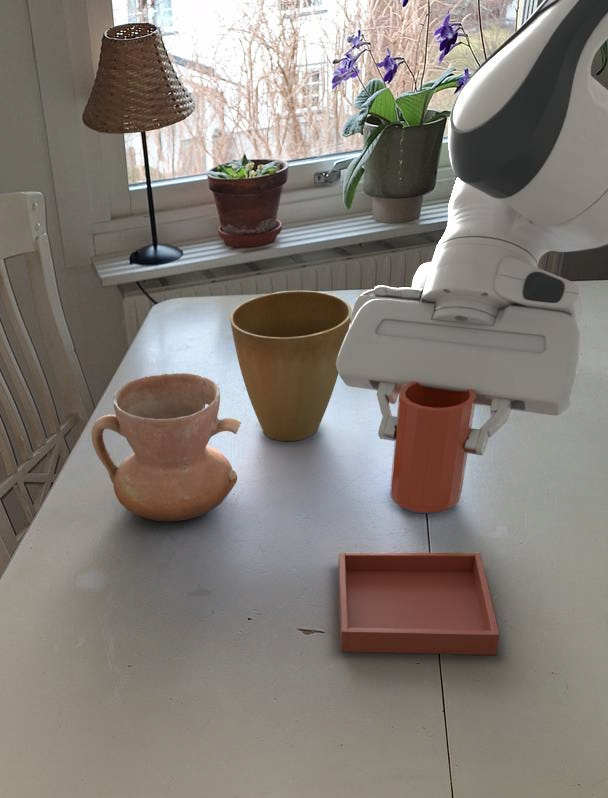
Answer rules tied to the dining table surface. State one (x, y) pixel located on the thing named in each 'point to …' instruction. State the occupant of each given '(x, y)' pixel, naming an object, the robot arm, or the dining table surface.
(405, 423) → the terracotta cup
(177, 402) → the ceramic jug
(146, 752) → the dining table surface
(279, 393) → the plant pot
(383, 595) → the clay-red tray
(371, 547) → the dining table surface
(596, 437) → the dining table surface
